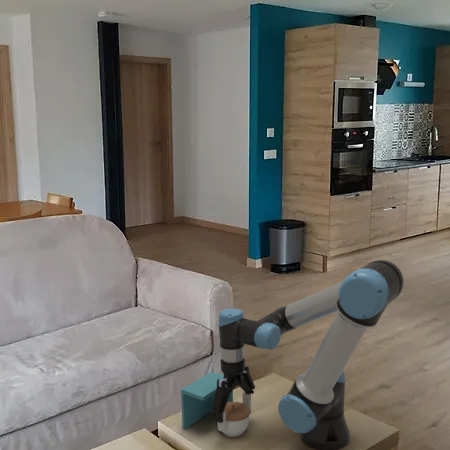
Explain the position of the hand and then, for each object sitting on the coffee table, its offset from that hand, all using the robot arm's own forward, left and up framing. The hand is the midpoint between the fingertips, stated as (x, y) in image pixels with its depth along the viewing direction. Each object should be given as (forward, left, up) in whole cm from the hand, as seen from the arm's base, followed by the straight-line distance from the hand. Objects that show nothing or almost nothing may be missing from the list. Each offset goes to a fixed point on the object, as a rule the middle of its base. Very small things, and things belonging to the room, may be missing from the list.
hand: (235, 421), depth 188 cm
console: (+11, 0, -4) cm, 12 cm away
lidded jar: (+1, 0, -4) cm, 4 cm away
